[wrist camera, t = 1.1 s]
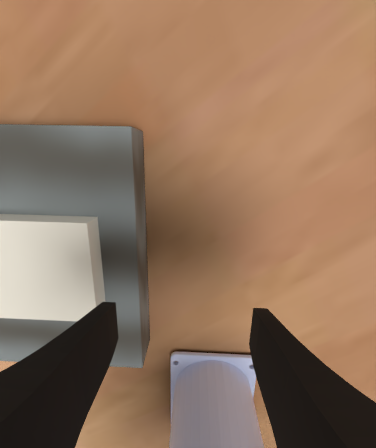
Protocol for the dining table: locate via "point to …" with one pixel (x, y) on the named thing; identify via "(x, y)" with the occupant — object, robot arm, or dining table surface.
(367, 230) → the dining table surface
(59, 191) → the plate
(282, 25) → the dining table surface
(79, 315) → the coaster
